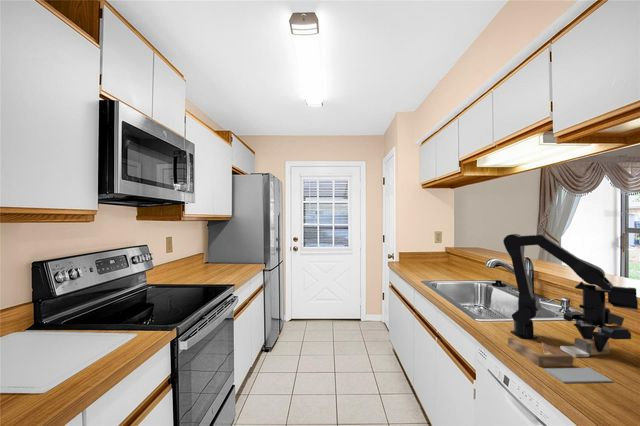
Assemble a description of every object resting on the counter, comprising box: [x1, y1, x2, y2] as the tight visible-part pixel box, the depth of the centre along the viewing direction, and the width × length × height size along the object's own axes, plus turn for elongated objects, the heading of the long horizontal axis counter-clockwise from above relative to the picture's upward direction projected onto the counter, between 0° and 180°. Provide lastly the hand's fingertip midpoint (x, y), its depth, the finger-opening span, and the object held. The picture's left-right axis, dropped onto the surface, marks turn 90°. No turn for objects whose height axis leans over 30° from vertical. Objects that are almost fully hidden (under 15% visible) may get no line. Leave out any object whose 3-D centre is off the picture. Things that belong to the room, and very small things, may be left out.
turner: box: [559, 337, 611, 358], centre depth 100 cm, size 13×6×4 cm, turn 91°
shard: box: [541, 341, 573, 357], centre depth 100 cm, size 11×8×2 cm
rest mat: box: [543, 367, 613, 384], centre depth 86 cm, size 7×14×1 cm, turn 91°
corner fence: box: [507, 336, 573, 367], centre depth 98 cm, size 14×10×3 cm
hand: (594, 349), depth 100 cm, fingers closed on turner, 3 cm apart
